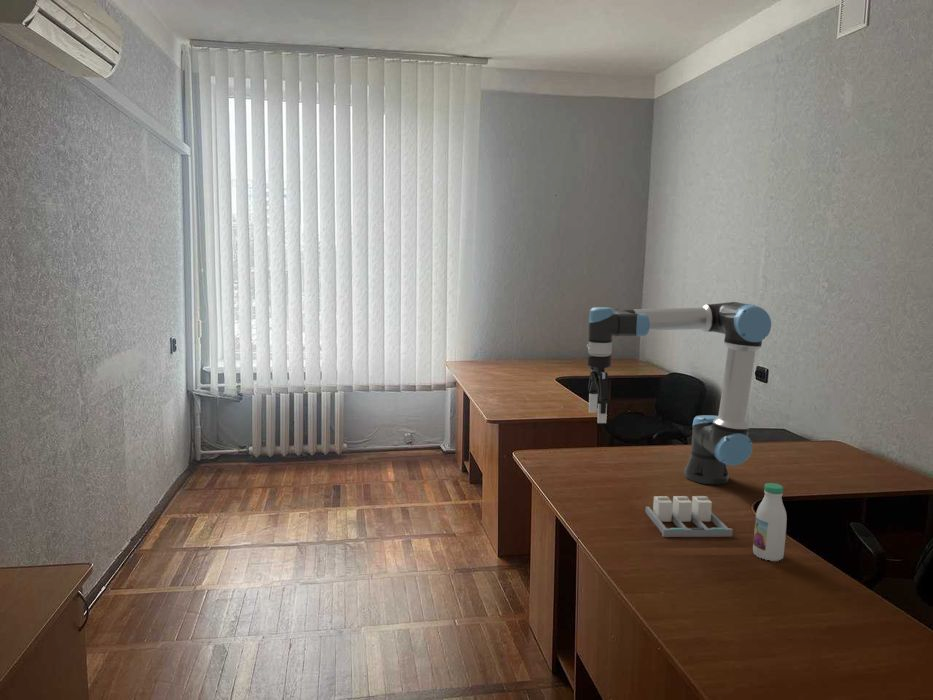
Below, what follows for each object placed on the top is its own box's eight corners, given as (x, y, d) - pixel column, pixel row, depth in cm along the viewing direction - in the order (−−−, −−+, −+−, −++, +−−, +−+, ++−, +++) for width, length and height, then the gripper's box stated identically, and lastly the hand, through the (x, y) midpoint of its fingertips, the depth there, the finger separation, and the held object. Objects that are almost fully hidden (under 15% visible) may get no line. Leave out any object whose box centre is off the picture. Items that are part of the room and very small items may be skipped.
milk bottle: (781, 551, 184) (788, 482, 181) (785, 564, 177) (791, 492, 174) (751, 547, 187) (757, 479, 184) (753, 559, 180) (759, 488, 177)
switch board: (706, 516, 208) (707, 504, 208) (731, 541, 191) (732, 528, 190) (643, 516, 208) (644, 505, 207) (662, 541, 190) (663, 529, 189)
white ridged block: (684, 514, 205) (686, 494, 204) (690, 521, 200) (692, 500, 199) (672, 514, 205) (673, 494, 204) (677, 521, 200) (679, 500, 199)
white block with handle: (665, 514, 205) (666, 494, 204) (671, 521, 200) (672, 500, 199) (652, 515, 205) (654, 494, 204) (658, 521, 200) (659, 500, 199)
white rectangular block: (703, 514, 206) (705, 494, 205) (710, 521, 201) (712, 500, 200) (691, 514, 206) (692, 494, 204) (697, 521, 201) (698, 500, 200)
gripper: (580, 348, 231) (578, 408, 234) (596, 360, 206) (594, 427, 210) (602, 348, 231) (599, 408, 235) (620, 360, 207) (617, 427, 210)
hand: (597, 417), depth 222 cm, fingers open, 13 cm apart
